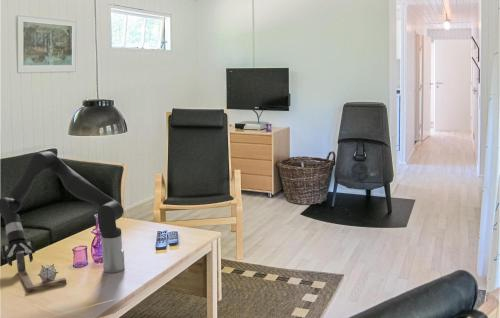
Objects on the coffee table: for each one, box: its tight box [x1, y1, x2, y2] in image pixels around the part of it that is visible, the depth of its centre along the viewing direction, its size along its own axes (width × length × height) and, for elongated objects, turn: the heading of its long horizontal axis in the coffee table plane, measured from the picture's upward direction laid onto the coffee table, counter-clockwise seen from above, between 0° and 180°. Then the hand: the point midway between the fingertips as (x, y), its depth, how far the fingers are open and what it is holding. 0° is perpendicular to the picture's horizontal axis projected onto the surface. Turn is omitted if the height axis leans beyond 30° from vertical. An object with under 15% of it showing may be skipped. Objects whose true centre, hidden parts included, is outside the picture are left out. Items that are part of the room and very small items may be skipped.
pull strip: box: [15, 251, 67, 294], centre depth 225 cm, size 16×26×10 cm, turn 34°
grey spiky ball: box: [37, 263, 59, 283], centre depth 222 cm, size 9×8×10 cm
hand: (21, 263), depth 231 cm, fingers open, 8 cm apart
